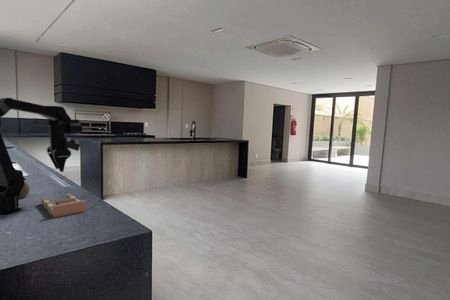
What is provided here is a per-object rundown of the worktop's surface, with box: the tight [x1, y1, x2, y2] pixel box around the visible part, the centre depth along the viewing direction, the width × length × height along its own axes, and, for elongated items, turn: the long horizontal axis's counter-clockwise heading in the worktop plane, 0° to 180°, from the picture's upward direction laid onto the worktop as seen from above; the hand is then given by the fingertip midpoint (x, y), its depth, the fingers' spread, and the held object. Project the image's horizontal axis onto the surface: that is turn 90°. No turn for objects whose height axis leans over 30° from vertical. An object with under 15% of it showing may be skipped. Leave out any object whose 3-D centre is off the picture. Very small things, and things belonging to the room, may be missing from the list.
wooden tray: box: [41, 193, 81, 217], centre depth 111 cm, size 20×11×2 cm, turn 43°
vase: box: [17, 180, 30, 200], centre depth 123 cm, size 7×7×9 cm
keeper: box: [55, 197, 77, 205], centre depth 107 cm, size 8×6×4 cm
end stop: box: [52, 199, 87, 218], centre depth 103 cm, size 2×11×4 cm, turn 133°
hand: (59, 170), depth 122 cm, fingers open, 9 cm apart
